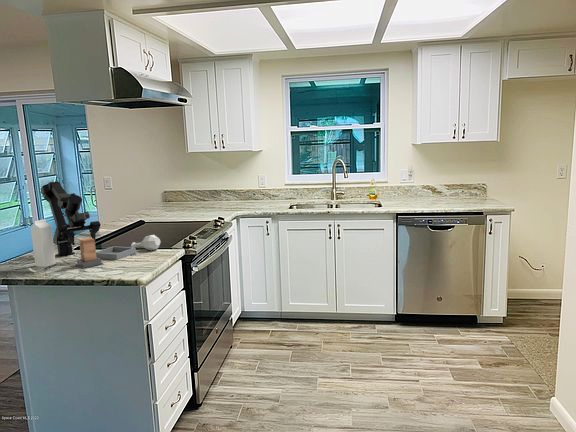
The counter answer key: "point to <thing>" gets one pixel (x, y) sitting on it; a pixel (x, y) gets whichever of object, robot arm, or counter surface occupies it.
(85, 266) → the grey square base plate
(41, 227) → the milk
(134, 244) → the chicken leg
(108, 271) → the counter surface
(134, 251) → the tray
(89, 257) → the block
